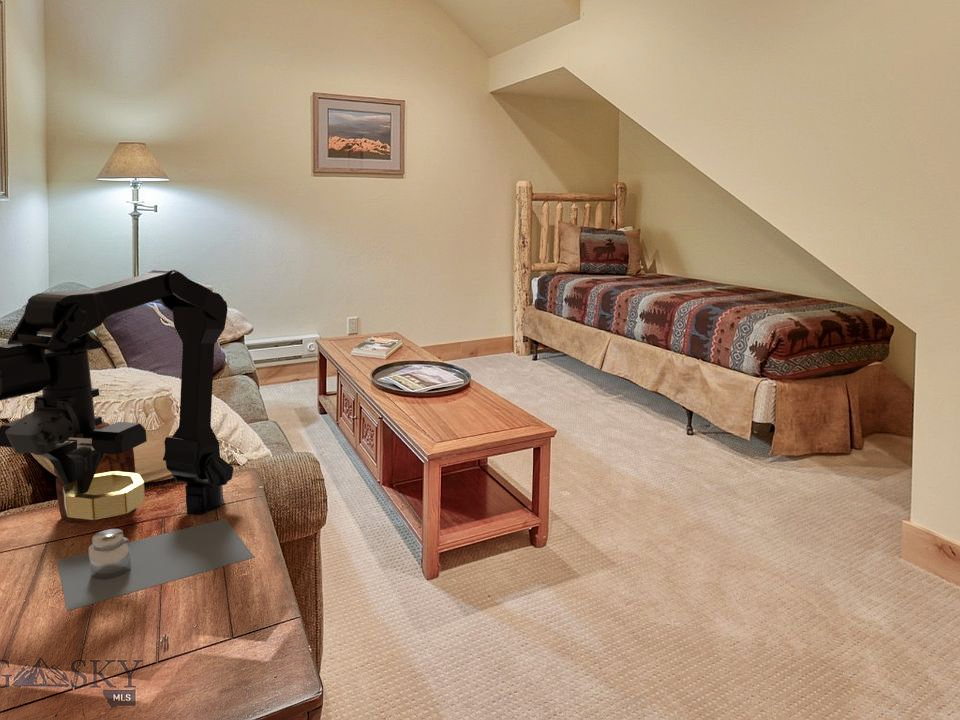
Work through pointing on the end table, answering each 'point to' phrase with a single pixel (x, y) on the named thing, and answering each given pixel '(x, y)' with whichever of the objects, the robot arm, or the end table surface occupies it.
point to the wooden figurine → (107, 464)
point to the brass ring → (105, 496)
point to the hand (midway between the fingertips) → (78, 492)
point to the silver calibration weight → (109, 554)
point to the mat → (155, 563)
